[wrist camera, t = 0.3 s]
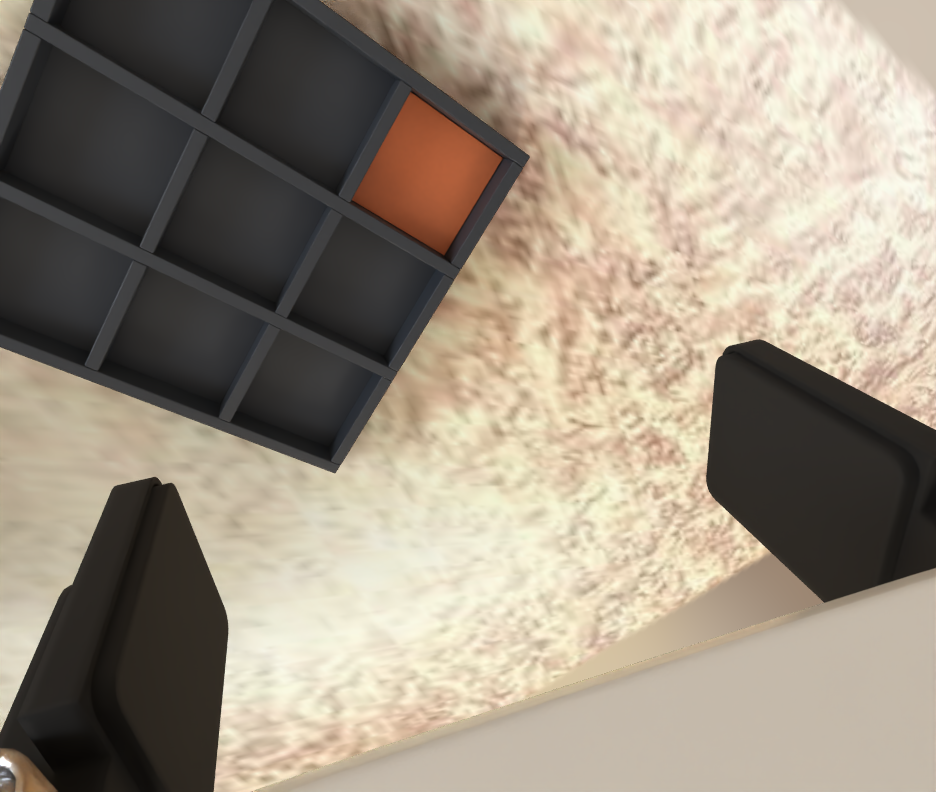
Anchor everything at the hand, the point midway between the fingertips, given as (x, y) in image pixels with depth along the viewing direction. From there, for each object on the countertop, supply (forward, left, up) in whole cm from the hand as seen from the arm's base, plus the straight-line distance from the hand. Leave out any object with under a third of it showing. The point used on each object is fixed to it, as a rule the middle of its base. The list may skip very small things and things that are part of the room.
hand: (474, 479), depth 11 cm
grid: (+3, -4, -28) cm, 28 cm away
